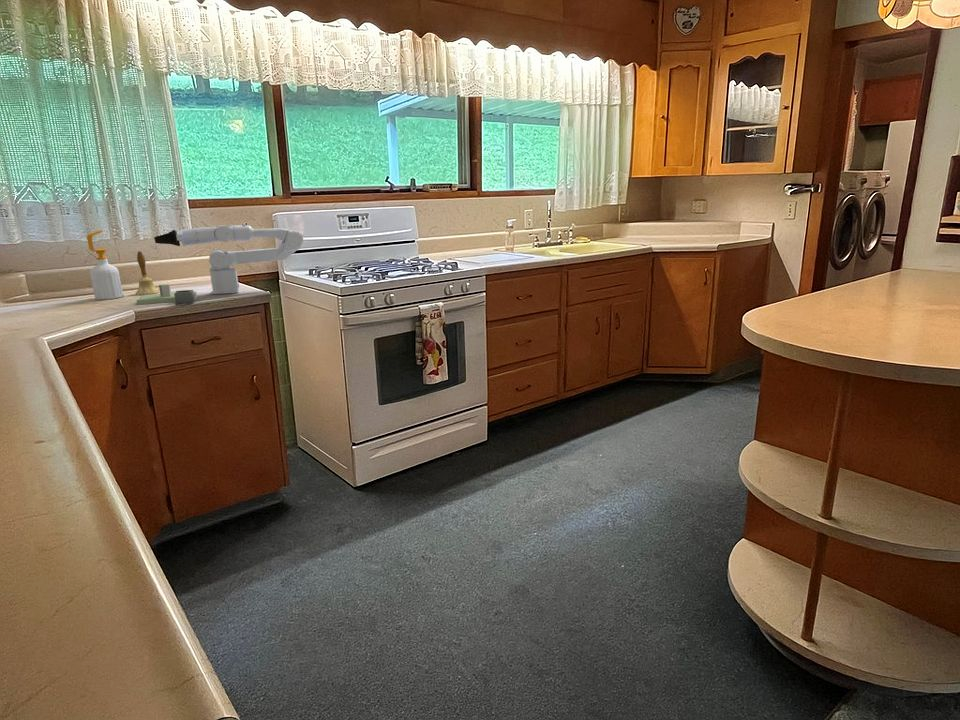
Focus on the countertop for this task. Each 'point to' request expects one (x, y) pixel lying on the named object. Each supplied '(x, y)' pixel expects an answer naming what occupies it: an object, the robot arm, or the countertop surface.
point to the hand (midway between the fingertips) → (155, 240)
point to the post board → (159, 296)
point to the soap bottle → (104, 275)
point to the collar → (184, 297)
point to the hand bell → (145, 279)
